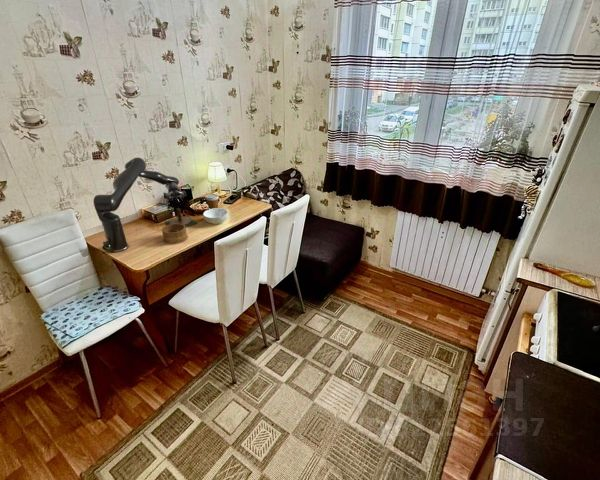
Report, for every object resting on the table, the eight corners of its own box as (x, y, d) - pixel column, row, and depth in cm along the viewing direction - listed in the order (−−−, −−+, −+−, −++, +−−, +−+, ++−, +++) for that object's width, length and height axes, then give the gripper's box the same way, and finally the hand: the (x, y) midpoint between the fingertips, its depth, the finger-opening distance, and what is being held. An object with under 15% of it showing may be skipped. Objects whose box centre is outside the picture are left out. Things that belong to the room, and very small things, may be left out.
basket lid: (170, 228, 204) (167, 214, 199) (168, 220, 216) (166, 206, 211) (193, 224, 209) (190, 211, 204) (190, 216, 221) (188, 203, 216)
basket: (164, 245, 185) (162, 234, 181) (163, 236, 195) (161, 225, 192) (188, 241, 190) (186, 230, 186) (185, 232, 200) (184, 222, 197)
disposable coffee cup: (220, 212, 229) (218, 197, 224) (206, 213, 228) (204, 198, 222) (220, 208, 238) (218, 193, 232) (207, 208, 236) (205, 194, 230)
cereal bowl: (200, 221, 216) (198, 211, 213) (221, 215, 226) (220, 206, 223) (211, 229, 205) (210, 219, 202) (233, 222, 215) (232, 213, 212)
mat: (174, 230, 203) (174, 229, 202) (165, 222, 213) (164, 221, 213) (196, 223, 212) (196, 223, 212) (186, 216, 222) (186, 215, 222)
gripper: (161, 186, 210) (163, 194, 197) (183, 184, 215) (186, 191, 202) (164, 196, 213) (165, 204, 200) (185, 194, 219) (188, 201, 206)
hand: (175, 198), depth 201 cm, fingers open, 8 cm apart
